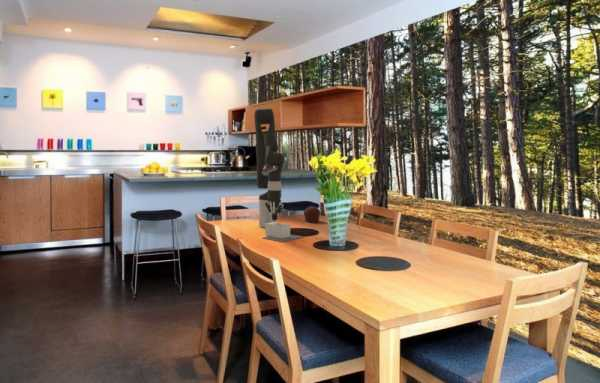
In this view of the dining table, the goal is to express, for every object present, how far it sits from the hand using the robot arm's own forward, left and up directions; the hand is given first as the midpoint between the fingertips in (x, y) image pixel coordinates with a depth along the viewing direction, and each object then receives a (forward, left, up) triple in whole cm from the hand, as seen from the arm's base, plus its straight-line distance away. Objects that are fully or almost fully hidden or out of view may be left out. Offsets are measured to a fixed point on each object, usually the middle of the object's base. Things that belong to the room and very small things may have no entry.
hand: (274, 220), depth 270 cm
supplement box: (0, -4, -5) cm, 6 cm away
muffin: (-57, -18, -10) cm, 61 cm away
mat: (-1, +5, -10) cm, 11 cm away
